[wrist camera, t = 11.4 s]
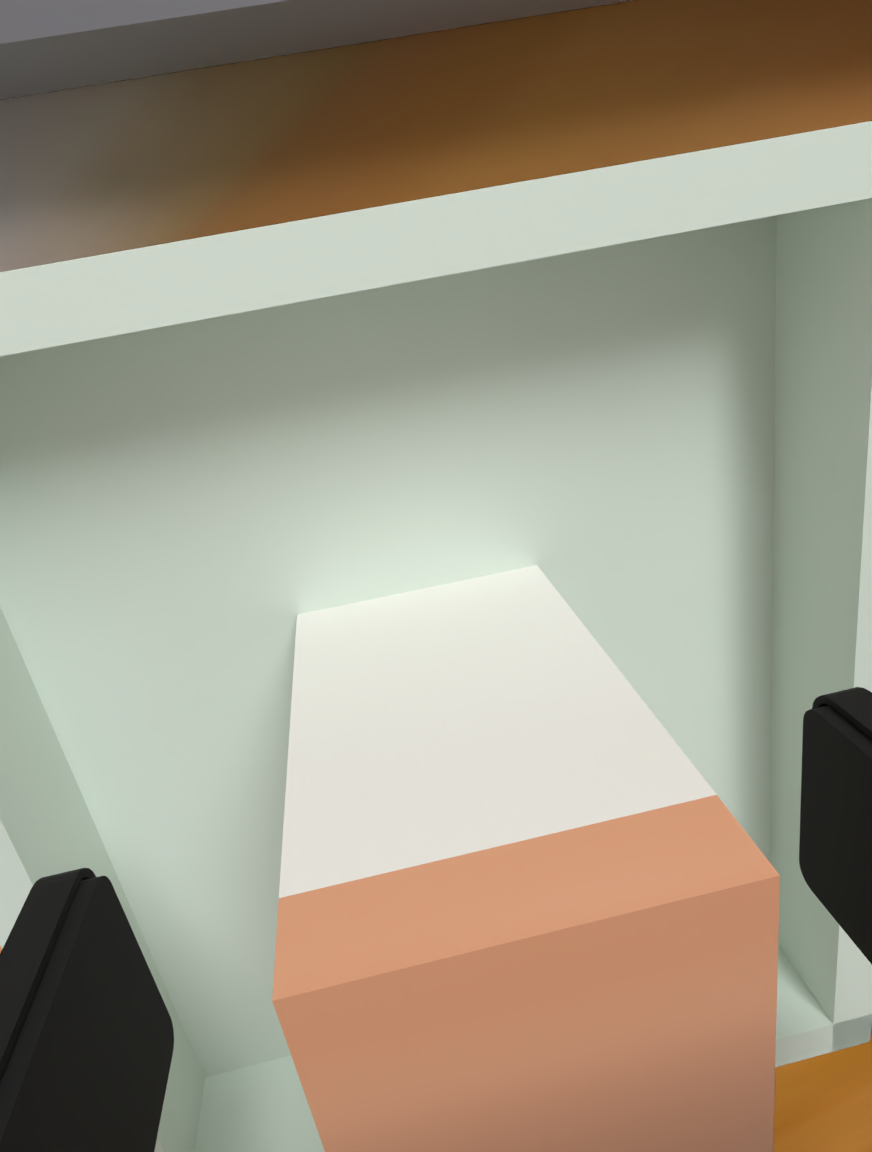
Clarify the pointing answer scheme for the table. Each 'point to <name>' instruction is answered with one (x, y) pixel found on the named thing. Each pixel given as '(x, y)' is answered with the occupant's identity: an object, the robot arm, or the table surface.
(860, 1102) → the table surface
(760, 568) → the parts tray
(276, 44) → the fuse holder strip
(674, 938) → the orange and white block
